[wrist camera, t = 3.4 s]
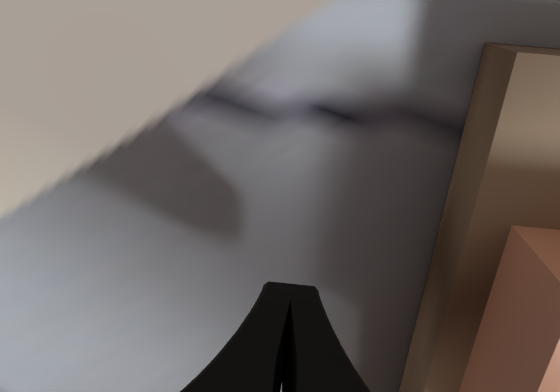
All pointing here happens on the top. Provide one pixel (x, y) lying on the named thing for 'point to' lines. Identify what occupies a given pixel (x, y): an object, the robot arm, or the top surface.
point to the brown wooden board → (488, 205)
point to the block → (520, 319)
